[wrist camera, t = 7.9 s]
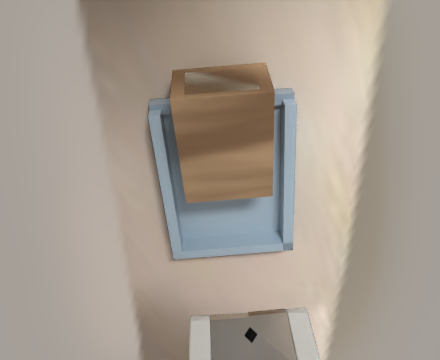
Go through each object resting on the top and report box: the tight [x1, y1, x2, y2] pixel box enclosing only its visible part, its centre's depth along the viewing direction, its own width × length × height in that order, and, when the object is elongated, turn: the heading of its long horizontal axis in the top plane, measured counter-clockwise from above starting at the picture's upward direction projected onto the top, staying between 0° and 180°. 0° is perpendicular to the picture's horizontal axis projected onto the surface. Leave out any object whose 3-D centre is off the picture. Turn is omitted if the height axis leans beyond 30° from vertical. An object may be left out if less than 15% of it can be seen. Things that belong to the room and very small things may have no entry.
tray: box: [148, 88, 297, 260], centre depth 32 cm, size 13×10×2 cm
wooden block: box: [170, 63, 275, 203], centre depth 28 cm, size 4×6×8 cm
